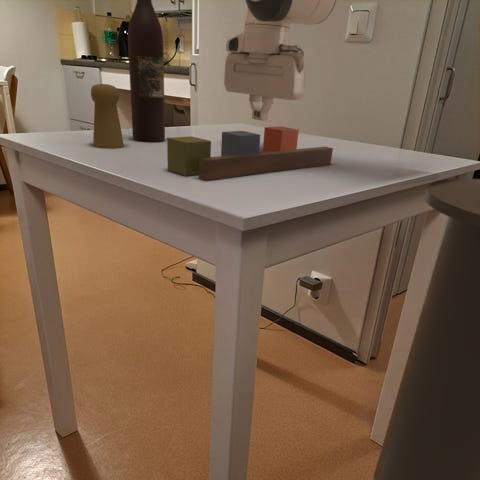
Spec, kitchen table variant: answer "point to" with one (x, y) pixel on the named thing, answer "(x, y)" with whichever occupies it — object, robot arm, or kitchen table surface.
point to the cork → (106, 117)
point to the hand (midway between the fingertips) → (259, 119)
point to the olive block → (186, 154)
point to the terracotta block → (280, 139)
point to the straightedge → (262, 162)
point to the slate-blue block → (239, 143)
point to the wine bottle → (146, 73)
